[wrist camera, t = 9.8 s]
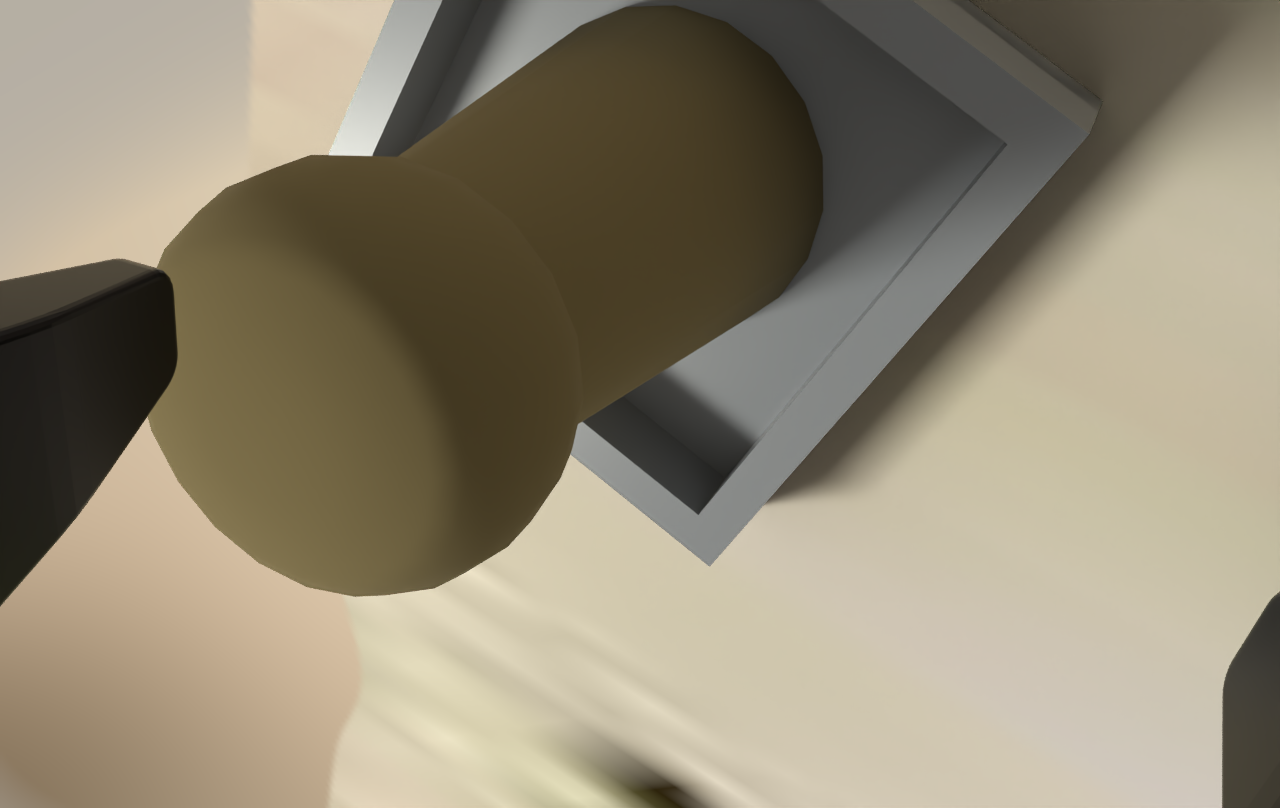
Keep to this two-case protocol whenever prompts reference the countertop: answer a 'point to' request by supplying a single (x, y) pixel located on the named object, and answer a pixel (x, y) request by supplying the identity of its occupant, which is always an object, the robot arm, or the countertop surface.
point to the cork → (477, 298)
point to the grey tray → (846, 235)
